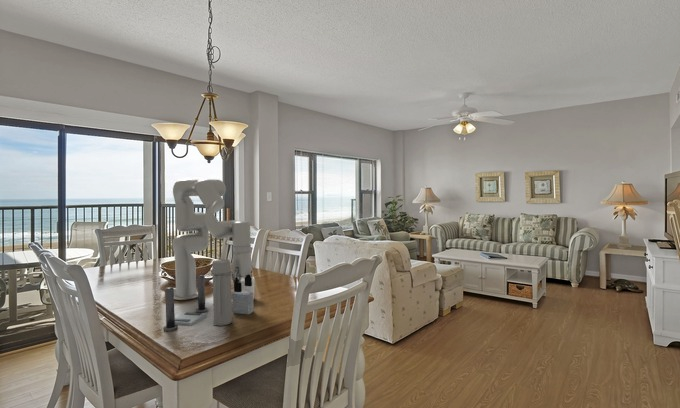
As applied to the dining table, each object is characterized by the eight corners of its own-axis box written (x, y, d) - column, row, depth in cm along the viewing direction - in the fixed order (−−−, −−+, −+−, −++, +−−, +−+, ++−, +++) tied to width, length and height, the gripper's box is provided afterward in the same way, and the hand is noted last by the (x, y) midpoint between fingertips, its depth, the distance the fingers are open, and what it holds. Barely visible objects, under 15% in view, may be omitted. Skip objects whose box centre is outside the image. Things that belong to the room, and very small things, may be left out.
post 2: (193, 312, 157) (192, 276, 156) (200, 309, 162) (199, 274, 161) (203, 313, 156) (202, 276, 155) (210, 309, 161) (209, 274, 160)
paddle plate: (166, 323, 144) (166, 320, 144) (183, 314, 155) (183, 311, 155) (191, 325, 142) (191, 321, 142) (206, 315, 153) (206, 312, 153)
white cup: (250, 302, 171) (250, 281, 170) (235, 301, 172) (235, 280, 172) (257, 297, 178) (257, 277, 178) (243, 296, 180) (242, 277, 180)
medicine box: (254, 311, 157) (253, 292, 157) (248, 315, 153) (247, 294, 153) (238, 310, 160) (238, 290, 159) (232, 313, 156) (232, 293, 155)
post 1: (160, 331, 136) (159, 289, 136) (169, 326, 141) (167, 286, 140) (172, 332, 135) (170, 290, 135) (180, 327, 140) (179, 286, 140)
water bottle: (215, 320, 147) (213, 259, 146) (234, 319, 147) (233, 259, 147) (209, 328, 138) (207, 264, 137) (230, 328, 138) (228, 263, 138)
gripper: (243, 246, 165) (244, 283, 165) (223, 252, 148) (225, 294, 148) (258, 246, 163) (259, 284, 164) (240, 252, 146) (242, 294, 147)
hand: (243, 288), depth 156 cm, fingers open, 9 cm apart
